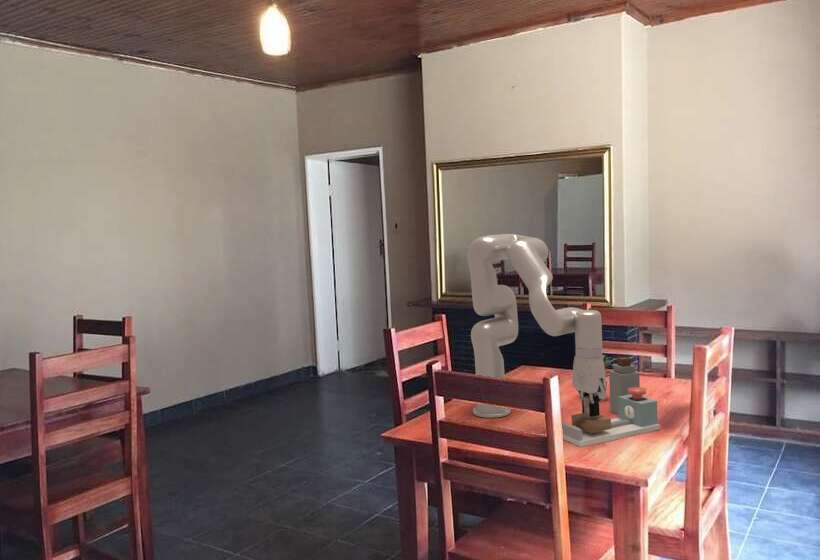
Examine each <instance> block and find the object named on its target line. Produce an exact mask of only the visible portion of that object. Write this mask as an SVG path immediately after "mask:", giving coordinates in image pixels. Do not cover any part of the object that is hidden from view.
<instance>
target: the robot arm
mask: <svg viewBox="0 0 820 560" xmlns="http://www.w3.org/2000/svg"><path fill="white" fill-rule="evenodd" d="M468 247H469V248H468V250H467V264H468V269H469V272H470V286H471V297H472V298H471V299H472V307H473V309H474V310H473V311H474V312H475V313H476V314H477V315H479V316H480V317H481V316H482V317H487V316H492V315H494V318H489V319H484V320H480V321H479V322H477V323H475V324H474V325H473V326H472V329H471V331H470V339H471V344H472V348H473V354H474V366H475V376H476V375H482V376H490V377H504V378H505V363H504V362H505V361H504V357H503V354H502V353H501V352H502V351H501V349H500V347H501V346H505V345H509V344H512V343H514V342H515V341H516V339H518V335H519V319H518V305H517V299H516V294H515V292H514V291H513V290H512V288H511V287H509V286H507V285H504V284H498V281H497V280H498V279H497V272H496V270H495V267H494V266H493V264H492V262H495V261H505V260H508V261H510V264H511V265H512V267H513V268H514V269H515V271H516V273H517V274H518V275H519V277H520V278H521V280H522V282H523V283H524V285H525V287H526V288H527V290H528V302H529V303H528V304H529V309H530V312H531V314H532V315H533V316H532V317H534V319H535V321H536V322H537V324H538V325H539V326H540V328H541V329H542V331H543V332H544V333H546V334H547V335H549V336H551V337H558V336H562V335H566V334H572V333H574V334H575V335H574V338H575V341H574V342H575V355H574V357H573V358H574V359H573V363H572V364H573V365H572V387H573V388H574V389H575V390H576V391H577V392H578V394H579V396H580V400H581V409H582V410H581V413H583V414H584V397H585V396H590V402H591V403H589V416H591V417H593V416H598V415H600V403H601V402H602V401H601V399H602V398H604V397H605V398H606V397H607V394H606V393H607V392H606V393H605V390H606V391H607V388H606V382H607V377H606V375H605V374H606V368H605V367H606V366H605V367H604V363H605V361H603V360H604V359H603V332H602V330H603V329H602V327H603V326H602V325H603V324H602V314H601V312H599V311H598V310H596V309H582V308H577V307H572V306H571V307H563V308H559V309H558V308H557V309H555V307H554V306H553V305H552V303H551V301H550V300H549V297H548V295H547V287H548V286H549V285H550V284H551V283H552V281H553V278H554V276H553V273H552V272H551V271H550V268H548V267H547V265H546V264H545V261H546V260H547V259H548V257H549V248H548V246H547V244H546V243H545V242H544V241H543V240H542V239H541V238H538V237H533V236H527V235H521V234H516V233H502V234H501V233H500V234H488V235H483V236H480V237H478V238H475V240H473V241H472V242H471V244H470V245H469V246H468ZM594 395H596V396H595V397H594ZM600 401H601V402H600ZM510 413H511V408H510V409H508V408H502V407H496V406H491V405H484V404H478V403H477V402H476V407H473V408H472V414H473V415H475V416H476V417H481V418H488V419H494V418H501V417H502V418H503V417H507V416H508V415H510Z"/></svg>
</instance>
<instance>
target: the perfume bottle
mask: <svg viewBox="0 0 820 560" xmlns="http://www.w3.org/2000/svg"><path fill="white" fill-rule="evenodd" d="M611 366H612V368H613V369H612V370H609V371H608V372H609V373H608V375H609V376H608V378H609V411H610V412H611V413H613V414H615V413H616V415H618V416H619V408H618V397H619V396H625V395H630V394H629V393H628V388H630V387H641V385H640V384H641V382H640V372H639V371H638V372H637V371H636V368H637V365H635V364H632V358H630V357H628V356H622V357H621V356H620V357H616V363H613V364H611Z"/></svg>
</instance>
